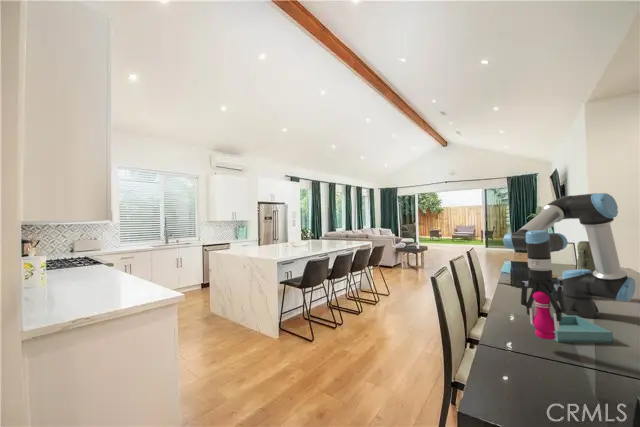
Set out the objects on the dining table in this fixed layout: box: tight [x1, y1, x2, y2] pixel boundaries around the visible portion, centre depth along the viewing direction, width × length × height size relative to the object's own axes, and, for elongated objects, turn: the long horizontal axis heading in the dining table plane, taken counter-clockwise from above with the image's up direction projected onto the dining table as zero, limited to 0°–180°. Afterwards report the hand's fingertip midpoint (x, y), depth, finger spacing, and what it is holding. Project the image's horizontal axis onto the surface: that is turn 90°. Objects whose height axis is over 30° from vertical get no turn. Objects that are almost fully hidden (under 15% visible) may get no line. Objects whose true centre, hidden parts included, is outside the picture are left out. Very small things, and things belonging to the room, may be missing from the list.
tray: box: [530, 314, 614, 344], centre depth 125 cm, size 20×20×4 cm
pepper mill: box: [532, 291, 556, 341], centre depth 111 cm, size 7×7×20 cm
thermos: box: [576, 240, 600, 301], centre depth 173 cm, size 9×12×35 cm
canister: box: [551, 272, 561, 301], centre depth 177 cm, size 13×13×18 cm
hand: (544, 325), depth 111 cm, fingers closed on pepper mill, 7 cm apart
